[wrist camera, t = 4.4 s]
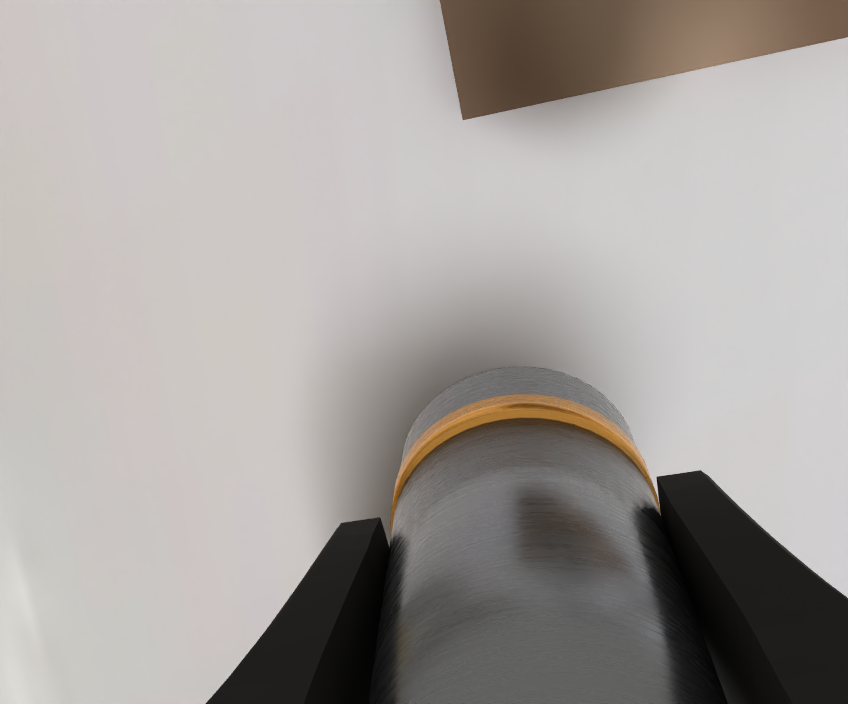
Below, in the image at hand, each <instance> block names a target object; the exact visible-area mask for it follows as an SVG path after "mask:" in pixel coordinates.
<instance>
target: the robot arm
mask: <svg viewBox="0 0 848 704" xmlns="http://www.w3.org/2000/svg"><path fill="white" fill-rule="evenodd" d="M657 486H658V495H659V504H660V513H661V518H662V521H663V524H664V527H665V530H666V532H667V535H668V538H669V541H670V544H671V546H672V549H673V552H674V555H675V558H676V560H677V563H678V566H679V569H680V571H681V574H682V577H683V580H684V582H685V585H686V588H687V591H688V594H689V596H690V599H691V602H692V605H693V608H694V610H695V613H696V616H697V619H698V622H699V624H700V627H701V630H702V633H703V635H704V638H705V641H706V644H707V647H708V649H709V652H710V655H711V658H712V661H713V663H714V666H715V669H716V672H717V674H718V677H719V680H720V683H721V686H722V688H723V691H724V694H725V697H726V700H727V702H728V704H848V598H847V597H846V596H844V595H843V594H842V593H840V592H839V591H838V590H836V589H835V588H834V587H832V586H831V585H830V584H828V583H827V582H826V581H825V580H823V579H822V578H821V577H820V576H818V575H817V574H816V573H815V572H813V571H812V570H811V569H810V568H808V567H807V566H806V565H805V564H804V563H802V562H801V561H800V560H799V559H798V558H797V557H795V556H794V555H793V554H792V553H791V552H789V551H788V550H787V549H786V548H785V547H784V546H782V545H781V544H780V543H779V542H778V541H776V540H775V539H774V538H773V537H772V536H771V535H770V534H768V533H767V532H766V531H765V530H764V529H763V528H762V527H761V526H760V525H758V524H757V523H756V522H755V521H754V520H753V519H752V518H751V517H750V516H749V515H748V514H747V513H746V512H744V511H743V510H742V509H741V508H740V507H739V506H738V505H737V504H736V503H735V502H734V501H733V500H732V499H731V498H730V497H729V496H728V495H727V494H726V493H725V492H724V491H723V490H722V489H721V488H720V487H719V486H718V485H717V484H716V483H715V482H714V481H713V480H712V479H711V478H710V477H709V476H708V475H706V474H705V473H703V472H702V471H701V470H700V471H693V472H687V473H680V474H673V475H666V476H659V477H657ZM389 550H390V549H389V545H388V542H387V539H386V535H385V532H384V528H383V525H382V522H381V518H373V519H366V520H359V521H352V522H346V523H341V524H340V526H339V527H338V528H337V530H336V531H335V532H334V534H333V535H332V537H331V538H330V539H329V541H328V542H327V544H326V545H325V547H324V548H323V550H322V551H321V553H320V554H319V556H318V557H317V559H316V560H315V562H314V563H313V564H312V566H311V567H310V569H309V570H308V572H307V573H306V575H305V576H304V578H303V579H302V581H301V582H300V583H299V585H298V586H297V588H296V589H295V591H294V592H293V594H292V595H291V596H290V598H289V599H288V600H287V602H286V603H285V605H284V606H283V607H282V609H281V610H280V612H279V613H278V614H277V616H276V617H275V619H274V620H273V621H272V623H271V624H270V625H269V627H268V628H267V629H266V631H265V632H264V633H263V635H262V636H261V637H260V639H259V640H258V641H257V642H256V644H255V645H254V646H253V647H252V649H251V650H250V651H249V652H248V654H247V655H246V656H245V657H244V659H243V660H242V661H241V663H240V664H239V665H238V666H237V668H236V669H235V670H234V671H233V673H232V674H231V675H230V676H229V678H228V679H227V680H226V681H225V682H224V683H223V685H222V686H221V687H220V688H219V689H218V690H217V691H216V693H215V694H214V695H213V696H212V697H211V698H210V699H209V700H208V702H207V703H206V704H368V703H369V696H370V689H371V681H372V674H373V667H374V659H375V652H376V645H377V637H378V630H379V623H380V615H381V608H382V601H383V593H384V586H385V579H386V572H387V564H388V557H389Z"/></svg>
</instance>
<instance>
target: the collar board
mask: <svg viewBox="0 0 848 704" xmlns="http://www.w3.org/2000/svg"><path fill="white" fill-rule="evenodd" d="M440 3H441V8H442V14H443V19H444V24H445V29H446V34H447V40H448V45H449V50H450V55H451V61H452V66H453V71H454V76H455V82H456V87H457V92H458V97H459V103H460V108H461V113H462V118H463V120H466V119H471V118H475V117H480V116H484V115H489V114H494V113H498V112H503V111H508V110H512V109H517V108H521V107H526V106H531V105H535V104H540V103H545V102H549V101H554V100H559V99H563V98H568V97H572V96H577V95H582V94H586V93H591V92H596V91H600V90H605V89H609V88H614V87H619V86H623V85H628V84H633V83H637V82H642V81H647V80H651V79H656V78H660V77H665V76H670V75H674V74H679V73H684V72H688V71H693V70H697V69H702V68H707V67H711V66H716V65H721V64H725V63H730V62H735V61H739V60H744V59H748V58H753V57H758V56H762V55H767V54H772V53H776V52H781V51H785V50H790V49H795V48H799V47H804V46H809V45H813V44H818V43H823V42H827V41H832V40H836V39H841V38H846V37H848V0H440Z"/></svg>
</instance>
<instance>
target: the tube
mask: <svg viewBox="0 0 848 704" xmlns="http://www.w3.org/2000/svg"><path fill="white" fill-rule="evenodd" d="M390 525H391V542H390V550H389V557H388V564H387V572H386V579H385V586H384V593H383V601H382V608H381V615H380V623H379V630H378V637H377V645H376V652H375V659H374V667H373V674H372V681H371V689H370V696H369V703H368V704H728V702H727V700H726V697H725V694H724V691H723V688H722V686H721V683H720V680H719V677H718V674H717V672H716V669H715V666H714V663H713V661H712V658H711V655H710V652H709V649H708V647H707V644H706V641H705V638H704V635H703V633H702V630H701V627H700V624H699V622H698V619H697V616H696V613H695V610H694V608H693V605H692V602H691V599H690V596H689V594H688V591H687V588H686V585H685V582H684V580H683V577H682V574H681V571H680V569H679V566H678V563H677V560H676V558H675V555H674V552H673V549H672V546H671V544H670V541H669V538H668V535H667V532H666V530H665V527H664V524H663V521H662V518H661V516H660V507H659V502H658V497H657V494H656V491H655V489H654V486H653V483H652V481H651V478H650V475H649V472H648V470H647V467H646V464H645V462H644V459H643V458H642V456H641V454H640V452H639V451H638V449H637V447H636V446H635V443H634V440H633V438H632V435H631V432H630V430H629V427H628V425H627V424H626V422H625V420H624V418H623V417H622V415H621V414H620V412H619V411H618V410H617V409H616V407H615V406H614V405H613V404H612V403H611V402H610V401H609V400H608V399H607V398H606V397H605V396H604V395H603V394H601V393H600V392H599V391H597V390H596V389H594V388H593V387H592V386H590V385H588V384H586V383H584V382H583V381H581V380H579V379H577V378H574V377H572V376H569V375H567V374H564V373H561V372H557V371H553V370H549V369H543V368H535V367H508V368H499V369H494V370H490V371H485V372H481V373H478V374H476V375H473V376H470V377H467V378H465V379H463V380H461V381H459V382H457V383H455V384H453V385H452V386H450V387H449V388H447V389H446V390H444V391H443V392H441V393H440V394H439V395H437V396H436V397H435V398H434V399H433V400H432V401H431V402H430V403H429V404H428V405H427V406H426V407H425V408H424V409H423V410H422V412H421V413H420V414H419V416H418V417H417V419H416V420H415V422H414V423H413V425H412V427H411V429H410V431H409V433H408V436H407V438H406V442H405V445H404V449H403V454H402V462H401V467H400V470H399V473H398V476H397V480H396V483H395V489H394V496H393V503H392V511H391V520H390Z"/></svg>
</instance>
